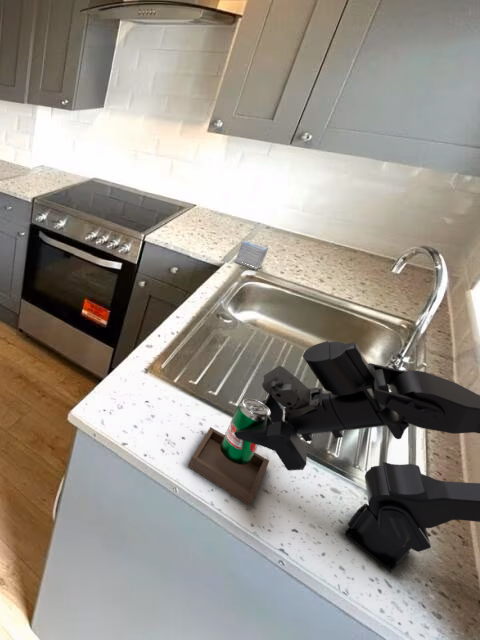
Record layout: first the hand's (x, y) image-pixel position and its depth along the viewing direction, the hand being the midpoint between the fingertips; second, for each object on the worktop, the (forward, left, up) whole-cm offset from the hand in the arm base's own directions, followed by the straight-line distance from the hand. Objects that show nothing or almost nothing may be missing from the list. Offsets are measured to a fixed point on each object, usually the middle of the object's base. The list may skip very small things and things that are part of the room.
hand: (237, 425), depth 78 cm
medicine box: (+52, -95, -11) cm, 109 cm away
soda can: (-1, -1, -7) cm, 7 cm away
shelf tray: (-1, 0, -10) cm, 10 cm away
